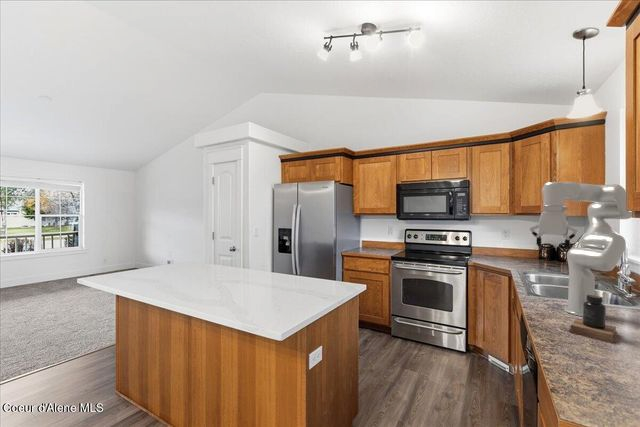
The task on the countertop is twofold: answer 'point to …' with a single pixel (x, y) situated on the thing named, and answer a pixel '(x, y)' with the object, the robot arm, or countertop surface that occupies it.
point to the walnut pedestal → (594, 331)
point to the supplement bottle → (594, 312)
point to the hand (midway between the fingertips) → (552, 247)
